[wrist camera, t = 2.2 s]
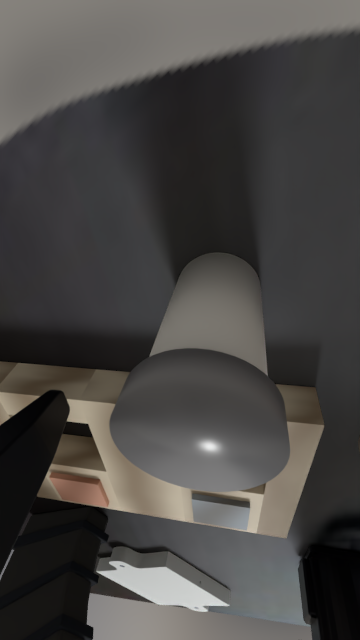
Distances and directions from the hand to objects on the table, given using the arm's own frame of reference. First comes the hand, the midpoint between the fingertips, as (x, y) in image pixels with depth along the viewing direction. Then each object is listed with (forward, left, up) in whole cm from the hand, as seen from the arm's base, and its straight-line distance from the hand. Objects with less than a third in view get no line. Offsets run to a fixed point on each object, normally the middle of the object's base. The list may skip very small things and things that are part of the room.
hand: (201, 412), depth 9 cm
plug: (0, 0, -7) cm, 7 cm away
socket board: (+5, +13, -7) cm, 16 cm away
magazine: (+16, +30, -7) cm, 35 cm away
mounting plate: (+7, +45, -8) cm, 46 cm away
